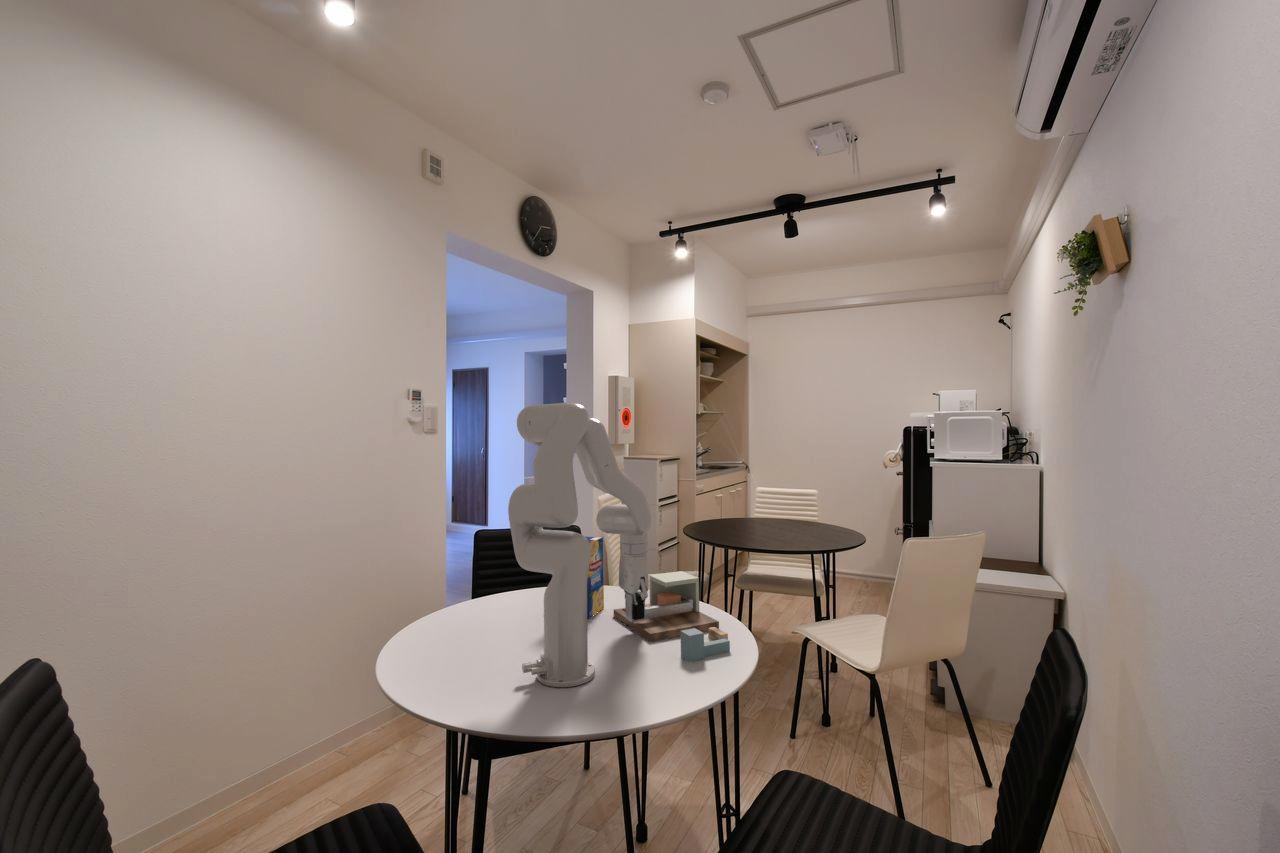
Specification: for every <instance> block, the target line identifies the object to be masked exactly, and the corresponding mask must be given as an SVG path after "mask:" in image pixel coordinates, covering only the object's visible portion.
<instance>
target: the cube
mask: <svg viewBox="0 0 1280 853" xmlns="http://www.w3.org/2000/svg"><path fill="white" fill-rule="evenodd" d="M674 602H681V595H679V594H677V593H675V592H665V593H658V594H657V605H662V604H668V603H674ZM677 614H678V613H677ZM671 615H672V614H671Z"/></svg>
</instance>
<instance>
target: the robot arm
mask: <svg viewBox="0 0 1280 853" xmlns="http://www.w3.org/2000/svg"><path fill="white" fill-rule="evenodd" d="M589 416H590V415H589V412H588V410H587V408H586V407H585V406H583V405H581V404H579V403H574V402H559V403H558V402H557V403H556V402H555V403H545V404H543V403H542V404H531V405H527V406H525V407H524V408H522V410H520V412H519V413H518V415H517V418H516V427H517V431H518V433H519V435H520V436H521V438H522V439H523V440H524V441H526V442H527V443H530V444H533V445H534V446H537V447H539V448H538V449H537V451H536V454H535V455H534V458H533V461H532V462H533V463H532V468H533V469H532V470H533V478H534V479H533V480H534V483H532V482H531V483H524V484H521V485H519V486H517V487H516V488H515V489H514V490H513V492H512V493H511V495H510V497H509V501H508V508H507V509H508V510H507V513H508V521H509V528H510V534H511V539H512V544H513V545H512V546H513V551H514V555H515V559H516V561H517V563H518V565H519V566H520V567H521V569H524V570H526V571H529V572H534V573H542V574H548V575H551V576H552V577H551V580H550V581H549V583H548V584H547V586H546V589H545V590H544V595H543V648H544V649H543V654H540V655H539V657H540V658H539V659H536V661H533V662H525V663H522V664H521V665H522V667H521V668H522V669H521V670H522V674H527V673H530V674H531V676H535V675H536V678H537V681H538V682H539V683H541V684H543V685H544V686H548V687H552V688H570V687H577V686H580V685H583V684H586V683H589V681H591V680H592V679H593V678H594V677H595V675H596V668H595V666H594V665H593V664H592V663H590V662H589V660H588V658H589V656H588V647H589V646H588V619H587V579H588V571H589V565H590V559H591V546H590V543H589V541H588V539H587V538H586V537H587V536H584V535H583V534H581V533H579V532H575V531H571V530H569V531H568V530H560V528H567V527H568V528H569V527H570V526H572V525H573V524H575V522H576V520H577V518H578V515H579V504H578V497H577V490H576V485H575V484H576V482H575V476H574V467H573V466H574V465H573V463H574V456H575V454H576V456H577V458H578V461H579V464H580V466H581V468H582V471H583V473H584V476H585V479H586V481H587V483H588V484H589V485H590V486H592V487H594V488H596V489H597V490H599V491H602V492H603V493H605V494H609V495H610V496H613V497H615V498H616V499H618V500H620V501H621V502H622V504H606V505H604V506H603V507H601V509H599V511H597V514H596V520H595V522H596V525H597V527H598V529H599V530H600V531H601V532H603V533H605V534H609V535H611V534H612V535H619V551H620V552H619V555H620V557H619V563H618V564H619V565H618V586H619V588H620V589H622V590H623V592H624V593H625V592H628V593H630V594H633V597H634V604H633V619H634V620H638V619H644V617H645V616H644V604H646V599H647V598H648V597H649V595H648V593H649V592H648V591H649V589H650V587H649V565H648V557H647V555H648V554H649V549H648V548H649V545H648V543H649V542H648V539H649V538H648V532H649V530H650V529H651V526H652V514H651V509H650V506H649V503H648V500H647V497H646V494H645V493H644V491H643V490H642V488H641V487H640V486H639V485H638V484H637V483H636V482H635V481H634V480H633V479H632V478H631V477H630V476H629V475H627V474H626V473H625V472H624V471H622V470H621V469H620V467H619V465H618V462H617V459H616V457H615V453H614V450H613V447H612V444H611V442H610V439H609V436H608V433H607V430H606V428H605V425H604V424H603V423H602V421H600V420H599V419H596V418H591V417H589ZM544 528H552V529H553V528H554V529H553V530H552V529H544ZM555 528H556V530H555ZM557 528H558V529H559V530H558V529H557ZM638 591H640V592H638ZM637 595H640V596H638V598H637ZM624 608H625V611H626V607H624Z"/></svg>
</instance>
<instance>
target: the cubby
mask: <svg viewBox="0 0 1280 853" xmlns="http://www.w3.org/2000/svg"><path fill="white" fill-rule="evenodd" d="M648 576H649V604H650V606H656V605H657V594H658V593H665V592H675V593H677V594H682V595H684V596H686V597H688V598H691V599H693V608H692V610H693V611H695V612H700V580H699V579H700V577H697V576H695V575H692V574H689V573H688V572H685V571H682V570H680V571H671V572H664V573H655V574H648Z"/></svg>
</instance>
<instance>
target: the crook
mask: <svg viewBox="0 0 1280 853" xmlns="http://www.w3.org/2000/svg"><path fill="white" fill-rule="evenodd" d="M638 592H641V591H640V590H638ZM679 595H681V602H674V603H668V604H662V605H656V606H649V607H645V604H646V603H645V604H644V616H645V617H644V619H638V620H634V619H633V604H634V597H633V594H630V593H628V592H624V600H625V602H624V603H625V605H624V606H625V607H626V619H627V620H629V621H630V622H638V621H644V620H645V619H648V618H654V617H659V616H665V615H671V614H677V613H683V612H689V611H692V608H693V599H691V598H688V597H686V596H684V595H682V594H679ZM638 596H640V595H637V598H638ZM625 607H624V608H625Z"/></svg>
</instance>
